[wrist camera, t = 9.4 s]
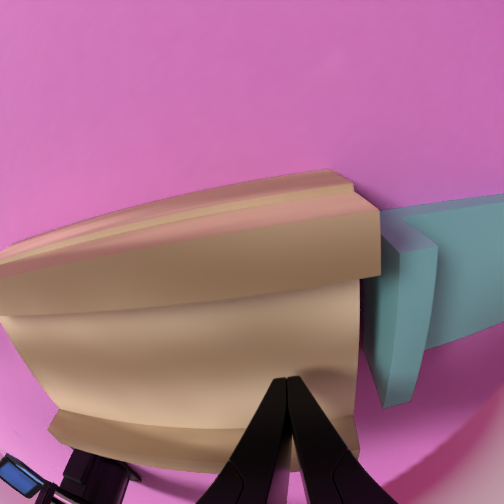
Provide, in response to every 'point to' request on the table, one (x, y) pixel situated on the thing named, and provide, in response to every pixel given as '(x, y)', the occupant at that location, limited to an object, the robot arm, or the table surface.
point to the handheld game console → (20, 476)
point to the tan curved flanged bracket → (194, 315)
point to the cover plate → (431, 286)
